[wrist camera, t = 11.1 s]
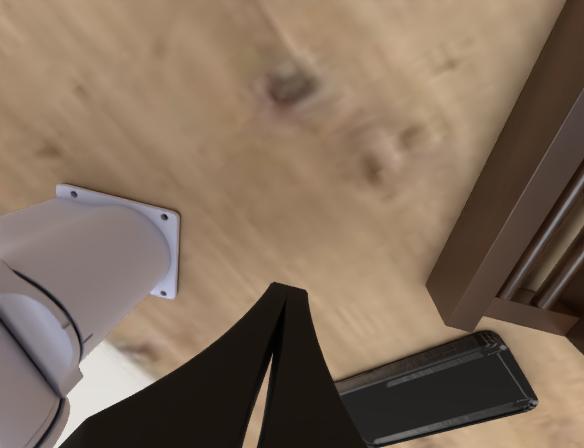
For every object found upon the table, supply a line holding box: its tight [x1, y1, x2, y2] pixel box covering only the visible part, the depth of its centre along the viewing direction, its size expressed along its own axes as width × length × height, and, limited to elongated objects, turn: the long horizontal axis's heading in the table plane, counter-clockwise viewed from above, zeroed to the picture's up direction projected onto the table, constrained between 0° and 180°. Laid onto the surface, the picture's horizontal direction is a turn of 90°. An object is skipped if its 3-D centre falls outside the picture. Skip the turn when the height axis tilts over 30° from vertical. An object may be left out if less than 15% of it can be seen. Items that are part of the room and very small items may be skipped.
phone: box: [335, 332, 538, 448], centre depth 23 cm, size 8×1×15 cm
